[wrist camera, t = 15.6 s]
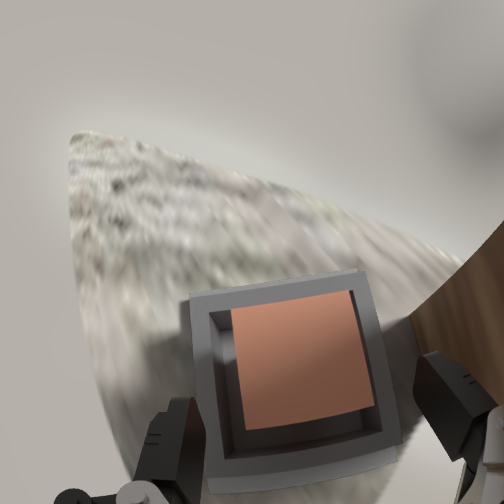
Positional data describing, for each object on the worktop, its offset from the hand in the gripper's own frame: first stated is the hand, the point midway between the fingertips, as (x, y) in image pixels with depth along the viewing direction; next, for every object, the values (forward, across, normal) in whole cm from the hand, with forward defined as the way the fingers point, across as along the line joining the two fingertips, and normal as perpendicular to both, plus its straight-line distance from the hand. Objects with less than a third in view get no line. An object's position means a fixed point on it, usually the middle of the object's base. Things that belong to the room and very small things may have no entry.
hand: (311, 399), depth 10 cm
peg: (+7, 0, +5) cm, 9 cm away
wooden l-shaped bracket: (+7, -3, +7) cm, 10 cm away
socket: (+8, 0, +6) cm, 10 cm away
